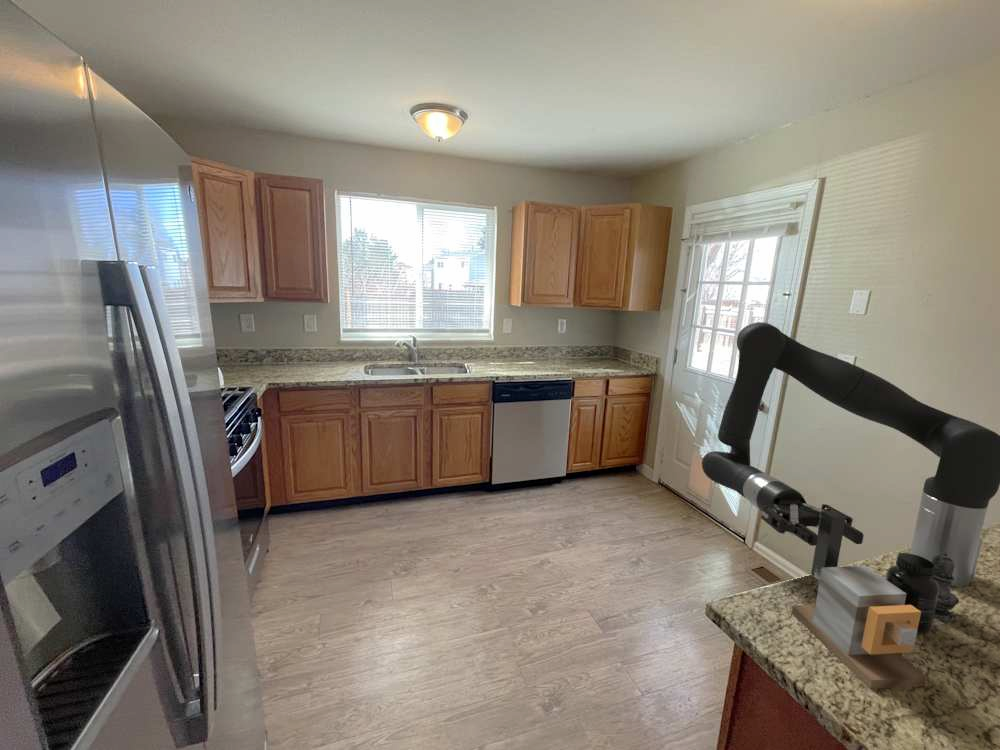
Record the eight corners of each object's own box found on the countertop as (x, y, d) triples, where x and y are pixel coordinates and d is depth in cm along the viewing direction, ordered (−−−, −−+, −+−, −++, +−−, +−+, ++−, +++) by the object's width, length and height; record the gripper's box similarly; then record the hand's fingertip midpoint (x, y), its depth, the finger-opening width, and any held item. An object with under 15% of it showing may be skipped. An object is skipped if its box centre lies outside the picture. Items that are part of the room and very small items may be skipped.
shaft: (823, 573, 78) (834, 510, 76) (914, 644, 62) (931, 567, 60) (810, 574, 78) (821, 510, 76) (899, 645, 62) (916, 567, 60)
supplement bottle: (925, 616, 78) (938, 557, 76) (935, 640, 72) (950, 578, 70) (876, 601, 82) (887, 544, 80) (882, 623, 76) (894, 563, 74)
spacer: (902, 644, 66) (910, 604, 65) (912, 652, 65) (921, 611, 64) (861, 646, 66) (868, 606, 64) (870, 654, 64) (878, 614, 63)
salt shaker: (964, 624, 76) (979, 564, 74) (926, 618, 77) (939, 559, 75) (938, 601, 82) (951, 545, 80) (903, 596, 83) (914, 541, 81)
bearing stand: (836, 610, 79) (847, 551, 77) (925, 685, 64) (941, 614, 62) (791, 612, 78) (800, 553, 76) (870, 688, 63) (884, 617, 61)
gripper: (742, 481, 88) (803, 521, 72) (806, 479, 89) (880, 519, 74) (738, 514, 90) (797, 561, 74) (801, 512, 91) (872, 558, 75)
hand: (838, 540), depth 74 cm, fingers open, 8 cm apart
